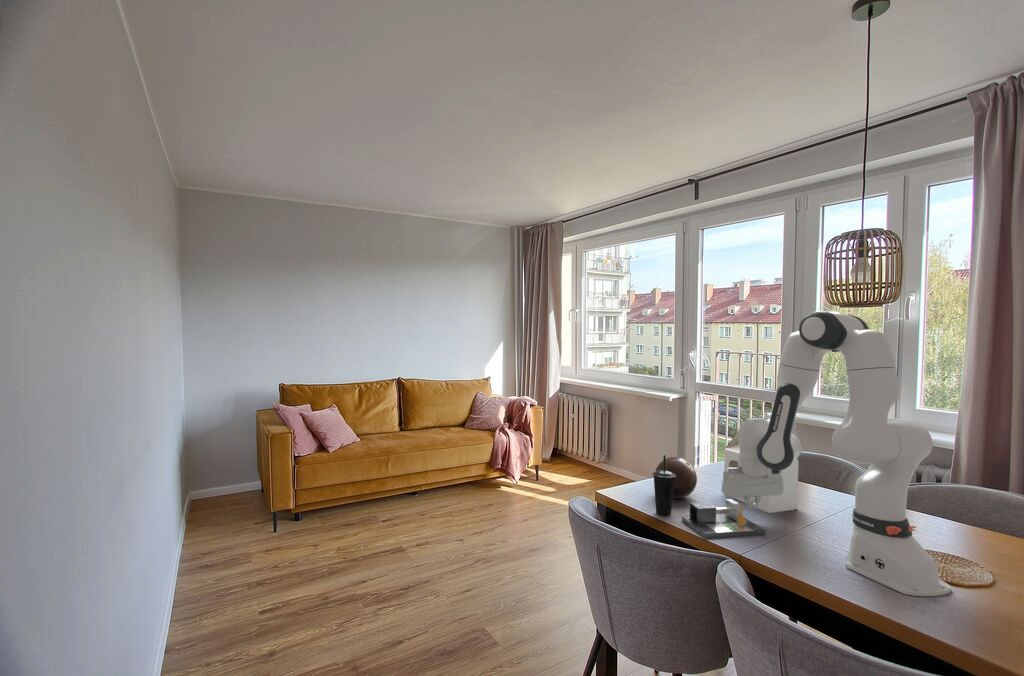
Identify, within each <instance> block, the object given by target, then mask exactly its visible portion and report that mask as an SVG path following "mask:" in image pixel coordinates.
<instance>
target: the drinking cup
mask: <svg viewBox="0 0 1024 676" xmlns="http://www.w3.org/2000/svg"><path fill="white" fill-rule="evenodd" d="M662 457H663V458H662V459H663V460H662V461H663V470H658V471H656V470H655V471H652V476H653V487H654V498H655V511H656V515H658V516H660V515H662V516H661V517H670V516H671V515H672V511H673V510H672V509H673V500H674V498H673V492H674V483H675V477H676V474H674V473H672V472H670V471H667V470H665V461H666V459H667V457H666V454H665V455H664V454H663V456H662ZM669 515H670V516H669Z"/></svg>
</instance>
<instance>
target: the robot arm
mask: <svg viewBox="0 0 1024 676" xmlns="http://www.w3.org/2000/svg"><path fill="white" fill-rule="evenodd" d="M785 341H786V342H785V344H784V346H783V350H782V352H781V356H780V359H779V363H778V370H777V377H776V378H777V379H776V390H775V399H774V403H773V405H772V406H773V407H772V410H771V414H770V420H768V419H767V418H764V417H752V418H747V419H744V420H743V421H742V422H741V423H740V426H739V429H740V430H739V447H740V452H739V455H738V467H737V468H727V469H726V470H725V471H724V470H723V476H722V484H721V493H722V494H723V495H724V496H726V497H727V498H733V497H743V498H744V500H745V502H746V503H745V504H746V505H745V507H746V509H747V510H759V509H758V503H759V502H760V500H761V496H768V495H781V494H782V493H783V477H782V475H781V474H782V470H783V469H786V468H787V467H789V466H790V465H791V463H792V462H793V461H794V460H795V459H796V458H797V459H798V457H799V456H800V455H801V453H802V451H803V444H802V440H801V439H800V438H799V436H798V435H796V433H793V429H794V428H793V427H794V424H795V420H796V415H797V413H798V411H799V408H800V406H801V405H802V404H803V402H804V401H805V400H806V398H807V397H809V396H810V394H811V393H812V392H813V390H814V389H815V386H816V384H817V382H818V379H819V376H820V370H821V366H822V360H823V357H824V356H825V355H826V353H828V352H833V353H837V352H839V353H840V352H841V353H842V356H844V359H845V367H846V373H847V374H846V375H847V382H848V383H847V384H848V393H849V401H848V402H849V403H848V408H847V411H846V414H845V415H844V416H845V417H844V418H843V420H842V422H841V423H840V424H839V425H838V426H836V428H835V430H834V431H833V433H832V436H831V442H832V443H831V444H832V447H833V450H834V451H835V453H836V454H837V456H839V458H841V460H844V461H847V462H851V463H855V464H862V465H867V464H870V465H869V466H868V468H867V469H866V471H864V473H863V474H861V476H859V477H858V478H857V480H856V481H855V485H854V486H855V488H854V489H855V497H854V508H853V509H852V523H853V530H852V535H851V538H850V540H851V541H850V546H849V551H848V553H847V556H846V562H845V563H846V565H845V567H846V568H847V569H849V570H851V571H853V572H856V573H858V574H859V575H863V576H864V577H866V578H868V579H871V580H873V581H875V582H877V583H879V584H881V585H884V586H885V587H888V588H890V589H892V590H895V591H897V592H899V593H902V594H903V595H907V596H914V597H915V596H917V597H936V596H944V595H948V594H950V593H951V592H952V586H951V585H950V584H948V582H946V581H943V580H942V579H941V578H940V577H939V576H940V574H939V568H938V565H937V562H936V560H935V559H934V558H932V556H931V555H930V553H928V552H927V551H926V549H924V548H923V546H922V545H921V544H920V543H919V542H918V541H917V540H916V538H914V536H913V532H914V531H915V532H916V531H917V530H916V528H917V526H916V525H914V526H913V525H912V526H911V525H910V522H909V520H908V519H909V518H907V502H908V501H907V500H908V491H909V486H910V483H911V480H912V477H913V476H914V474H915V471H916V469H917V468H918V467H919V465H920V464H921V462H923V460H924V459H925V458H927V457H929V455H930V454H931V453H932V451H933V447H934V446H933V445H934V441H933V438H932V436H931V434H930V432H929V431H928V430H927V429H926V428H925V426H923V425H920V424H917V423H913V422H909V421H903V420H888V416H889V413H890V410H891V408H892V406H894V404H896V403H897V402H898V401H899V400H900V398H901V392H900V385H899V377H898V373H897V371H898V370H897V366H896V361H895V356H894V353H893V349H892V347H891V344H890V342H889V339H888V337H887V336H886V334H884V333H883V332H882V331H879V330H876V329H870V328H869V326H868V324H867V323H866V322H865V321H864V320H863V319H862V318H860V317H858V316H856V315H853V314H847V313H843V312H839V311H827V310H817V311H812V312H810V313H808V314H806V315H804V317H802V319H801V321H800V323H799V325H798V331H795V332H792V333H790V334H789V335H788V337H787V339H786V340H785ZM727 470H728V471H727ZM751 496H753V497H755V498H754V500H753V502H750V500H749V499H751Z"/></svg>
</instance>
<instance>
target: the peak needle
mask: <svg viewBox="0 0 1024 676" xmlns="http://www.w3.org/2000/svg"><path fill="white" fill-rule="evenodd" d="M745 518H746V517H745V516H743V504H741V505H740V515H738V518H737V523H739V524H740V525H745Z"/></svg>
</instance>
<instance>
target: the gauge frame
mask: <svg viewBox="0 0 1024 676" xmlns="http://www.w3.org/2000/svg"><path fill="white" fill-rule="evenodd" d="M716 508H717V506H714V505H713V504H711V503H709V502H707V501H702V502H701V501H699V502H689V515H684V516H683V515H682V516H681V521H682V523H684V524H686V526H688V527H689V528H690V529H692V530H693V531H694V532H695V533H697V534H698V535H699V536H701V537H702V538H703V539H705V540H706V539H721V538H736V537H748V536H749V537H750V536H751V537H753V536H766V530H765V529H764V528H762V527H761V526H759V525H758V524H756V523H755V522H753V521H751V520H749V519H747V518H746V517H745V520H747V523H745V525H740V524H739V523H737V521H735V520H734V519H732V518H731V517H729V516H727V515H726V514H716Z"/></svg>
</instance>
